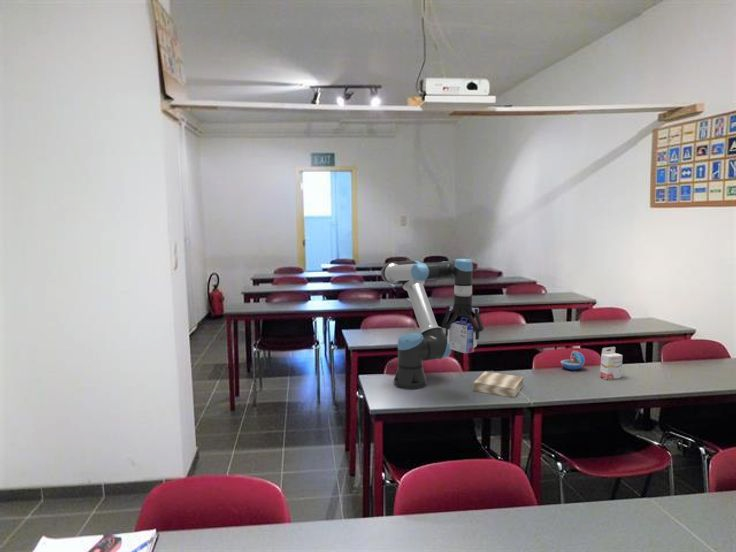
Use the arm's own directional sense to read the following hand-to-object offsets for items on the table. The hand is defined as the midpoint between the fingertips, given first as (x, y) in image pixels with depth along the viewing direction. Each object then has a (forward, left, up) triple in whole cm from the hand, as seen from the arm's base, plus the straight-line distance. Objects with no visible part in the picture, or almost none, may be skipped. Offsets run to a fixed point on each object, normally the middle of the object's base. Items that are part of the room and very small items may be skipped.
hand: (462, 345), depth 212 cm
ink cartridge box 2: (+56, +57, -23) cm, 83 cm away
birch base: (+12, +17, -23) cm, 31 cm away
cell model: (+38, +63, -23) cm, 77 cm away
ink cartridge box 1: (0, 0, -3) cm, 3 cm away
